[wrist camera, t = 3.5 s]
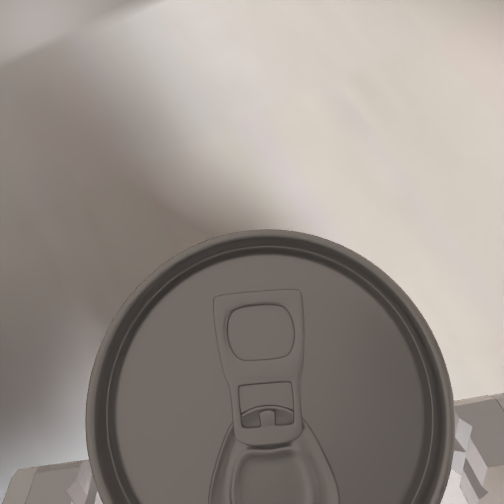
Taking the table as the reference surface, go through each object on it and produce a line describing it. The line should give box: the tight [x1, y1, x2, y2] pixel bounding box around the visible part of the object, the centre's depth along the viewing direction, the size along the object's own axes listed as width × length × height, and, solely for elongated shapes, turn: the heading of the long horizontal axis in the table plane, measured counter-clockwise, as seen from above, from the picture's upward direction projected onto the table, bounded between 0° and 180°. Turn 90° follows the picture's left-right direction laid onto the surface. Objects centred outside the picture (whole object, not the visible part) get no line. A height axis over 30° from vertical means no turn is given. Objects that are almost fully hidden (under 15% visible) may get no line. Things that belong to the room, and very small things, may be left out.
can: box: [86, 229, 455, 504], centre depth 13 cm, size 6×6×12 cm
